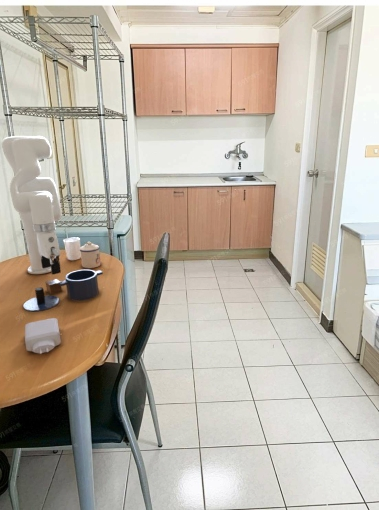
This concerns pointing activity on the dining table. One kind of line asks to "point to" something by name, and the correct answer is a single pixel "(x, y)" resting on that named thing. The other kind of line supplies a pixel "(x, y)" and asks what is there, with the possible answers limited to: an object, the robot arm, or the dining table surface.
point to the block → (53, 286)
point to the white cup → (72, 248)
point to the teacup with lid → (90, 255)
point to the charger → (42, 335)
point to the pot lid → (40, 301)
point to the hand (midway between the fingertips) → (51, 270)
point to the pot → (81, 284)
